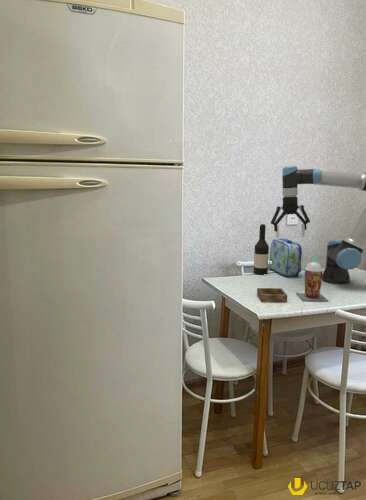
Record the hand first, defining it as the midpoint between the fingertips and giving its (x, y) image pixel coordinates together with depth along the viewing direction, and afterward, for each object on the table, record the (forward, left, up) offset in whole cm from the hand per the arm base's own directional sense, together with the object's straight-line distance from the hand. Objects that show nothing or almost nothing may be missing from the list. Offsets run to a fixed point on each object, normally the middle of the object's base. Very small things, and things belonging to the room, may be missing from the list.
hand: (290, 237), depth 212 cm
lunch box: (-6, -30, -27) cm, 40 cm away
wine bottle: (+9, -28, -27) cm, 40 cm away
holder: (+13, +23, -27) cm, 38 cm away
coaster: (-7, +21, -27) cm, 35 cm away
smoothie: (-7, +21, -26) cm, 35 cm away
